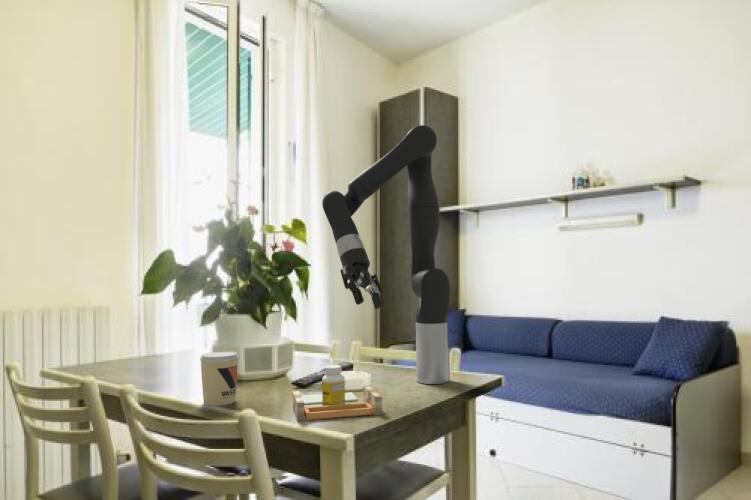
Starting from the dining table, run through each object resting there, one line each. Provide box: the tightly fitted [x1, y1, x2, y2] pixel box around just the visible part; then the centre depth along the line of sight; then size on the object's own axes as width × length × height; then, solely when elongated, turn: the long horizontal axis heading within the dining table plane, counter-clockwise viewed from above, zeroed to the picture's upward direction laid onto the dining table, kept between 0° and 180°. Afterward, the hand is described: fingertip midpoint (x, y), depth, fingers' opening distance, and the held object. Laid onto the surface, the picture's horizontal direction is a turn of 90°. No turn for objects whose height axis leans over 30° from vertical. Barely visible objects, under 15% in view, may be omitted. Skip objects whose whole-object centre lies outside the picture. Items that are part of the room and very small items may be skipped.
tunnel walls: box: [291, 385, 383, 423], centre depth 120 cm, size 12×19×4 cm, turn 104°
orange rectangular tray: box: [304, 402, 374, 422], centre depth 117 cm, size 6×15×2 cm, turn 104°
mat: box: [301, 391, 359, 406], centre depth 132 cm, size 8×14×1 cm, turn 104°
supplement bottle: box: [321, 364, 346, 406], centre depth 124 cm, size 5×5×10 cm
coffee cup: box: [199, 351, 239, 407], centre depth 131 cm, size 9×9×12 cm
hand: (370, 305), depth 137 cm, fingers open, 8 cm apart
